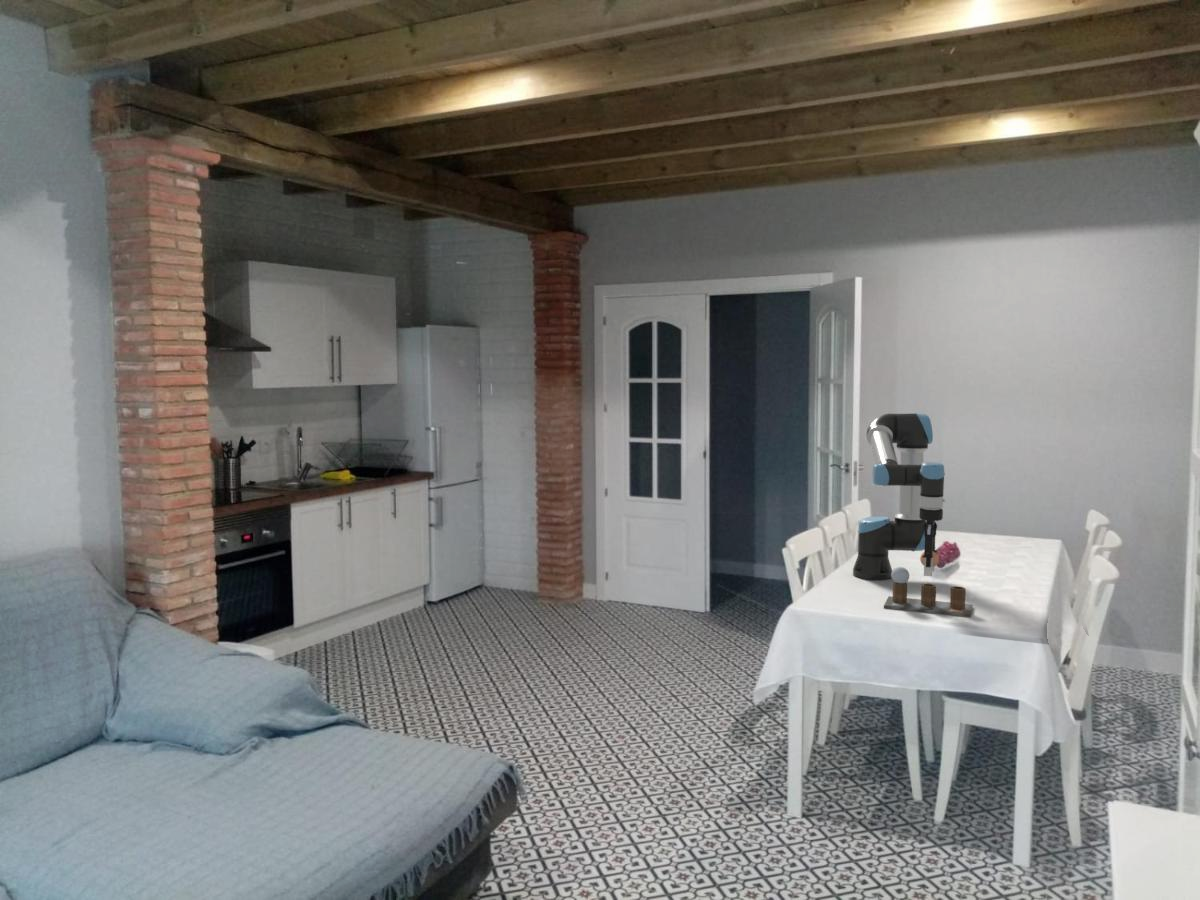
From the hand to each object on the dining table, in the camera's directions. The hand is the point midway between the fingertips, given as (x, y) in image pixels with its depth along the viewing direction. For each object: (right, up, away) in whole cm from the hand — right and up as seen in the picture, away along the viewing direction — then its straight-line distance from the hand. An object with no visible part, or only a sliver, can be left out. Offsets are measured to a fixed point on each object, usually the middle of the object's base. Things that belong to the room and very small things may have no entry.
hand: (928, 573), depth 317 cm
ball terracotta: (0, +2, 0) cm, 2 cm away
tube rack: (0, -12, +1) cm, 12 cm away
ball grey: (-9, -4, +4) cm, 10 cm away
